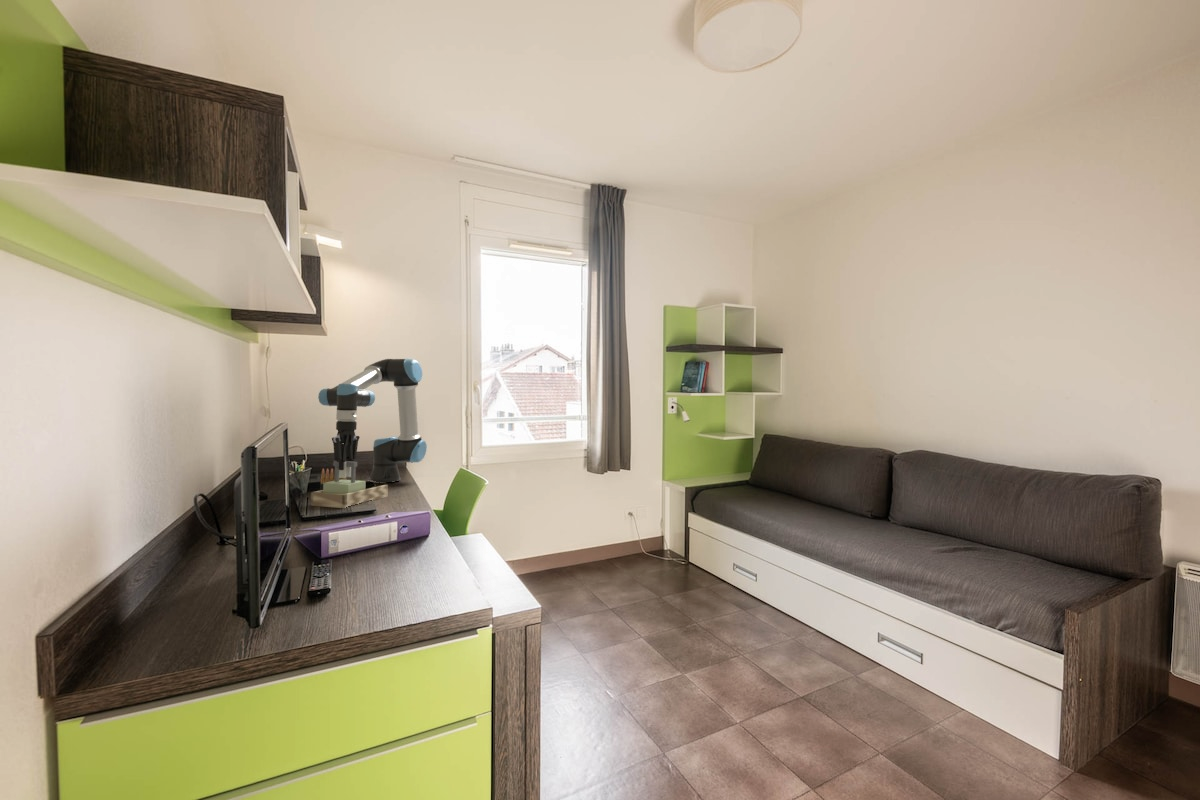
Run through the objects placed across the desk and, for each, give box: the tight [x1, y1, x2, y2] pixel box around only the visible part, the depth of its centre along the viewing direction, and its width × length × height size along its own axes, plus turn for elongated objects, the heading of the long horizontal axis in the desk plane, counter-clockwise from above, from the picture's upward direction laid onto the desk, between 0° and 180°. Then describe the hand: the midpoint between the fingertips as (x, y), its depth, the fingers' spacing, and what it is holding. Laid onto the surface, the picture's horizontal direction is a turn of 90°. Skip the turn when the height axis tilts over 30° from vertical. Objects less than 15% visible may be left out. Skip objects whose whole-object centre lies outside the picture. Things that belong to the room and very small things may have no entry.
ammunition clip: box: [319, 467, 347, 491], centre depth 221 cm, size 11×2×12 cm, turn 103°
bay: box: [310, 484, 389, 509], centre depth 208 cm, size 26×16×5 cm, turn 166°
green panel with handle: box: [323, 460, 367, 494], centre depth 204 cm, size 10×12×16 cm
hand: (345, 477), depth 204 cm, fingers closed on green panel with handle, 2 cm apart
